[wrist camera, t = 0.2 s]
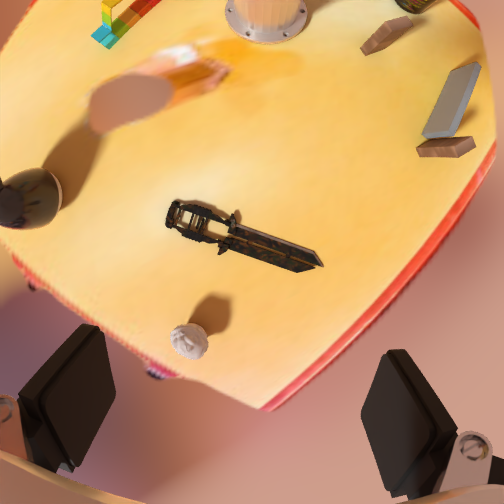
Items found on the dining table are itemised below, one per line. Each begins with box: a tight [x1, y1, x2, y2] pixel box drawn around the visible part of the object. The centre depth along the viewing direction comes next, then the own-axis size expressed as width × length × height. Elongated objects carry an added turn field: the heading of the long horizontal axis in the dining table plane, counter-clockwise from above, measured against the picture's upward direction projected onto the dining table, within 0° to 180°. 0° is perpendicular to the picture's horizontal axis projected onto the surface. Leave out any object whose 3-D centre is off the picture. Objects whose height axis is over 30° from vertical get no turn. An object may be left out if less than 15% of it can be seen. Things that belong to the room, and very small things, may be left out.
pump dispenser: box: [0, 168, 62, 230], centre depth 37 cm, size 10×10×15 cm
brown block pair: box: [360, 16, 476, 158], centre depth 34 cm, size 20×4×11 cm, turn 30°
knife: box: [165, 201, 324, 273], centre depth 46 cm, size 25×6×1 cm, turn 65°
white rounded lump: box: [170, 323, 208, 360], centre depth 47 cm, size 6×7×7 cm
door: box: [422, 62, 481, 139], centre depth 35 cm, size 15×2×8 cm, turn 150°
